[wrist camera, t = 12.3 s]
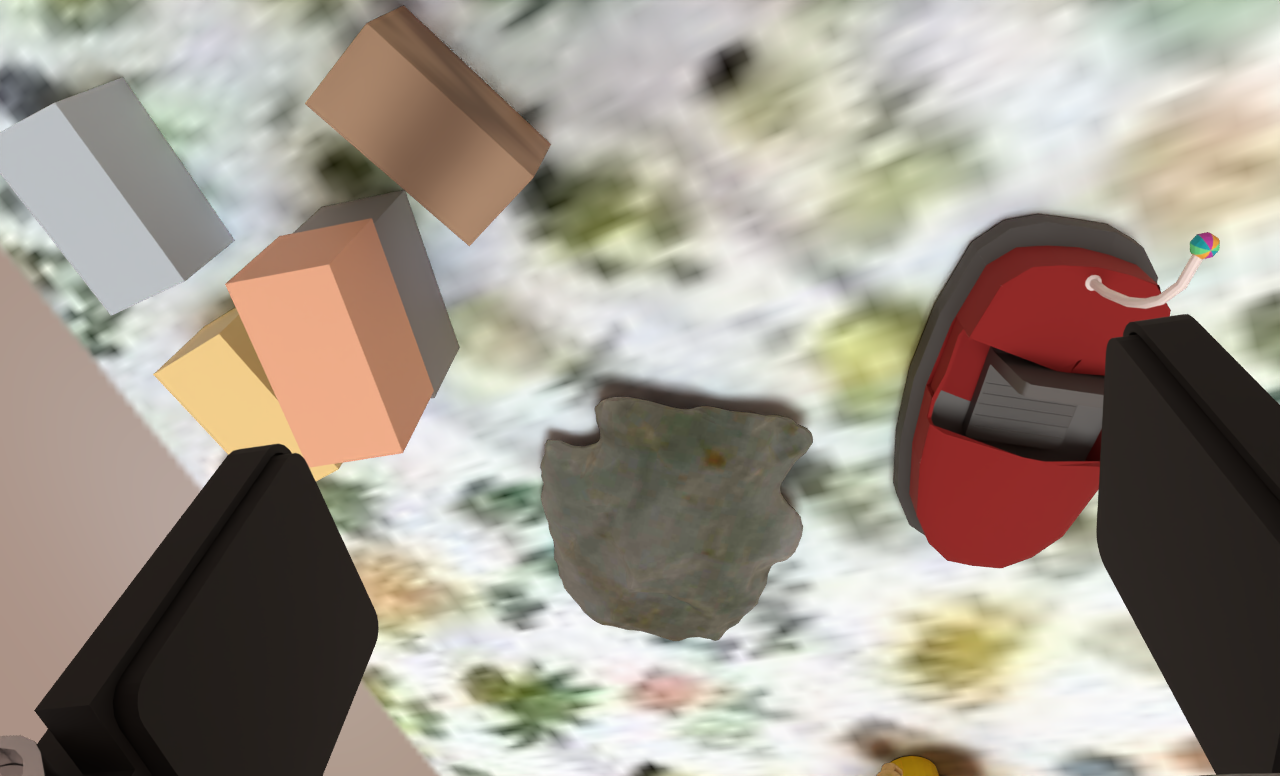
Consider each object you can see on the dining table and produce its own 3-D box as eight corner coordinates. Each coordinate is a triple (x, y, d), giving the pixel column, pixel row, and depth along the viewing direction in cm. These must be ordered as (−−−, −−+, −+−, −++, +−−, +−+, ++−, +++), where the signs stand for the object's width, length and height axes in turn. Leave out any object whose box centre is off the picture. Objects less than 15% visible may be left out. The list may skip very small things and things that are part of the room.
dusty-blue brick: (53, 114, 41) (-23, 144, 37) (124, 76, 40) (54, 102, 36) (168, 271, 45) (110, 315, 40) (236, 239, 44) (184, 281, 39)
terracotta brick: (279, 236, 38) (225, 284, 34) (371, 217, 37) (328, 264, 33) (348, 405, 42) (308, 467, 37) (433, 390, 41) (402, 452, 37)
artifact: (559, 355, 46) (529, 586, 54) (544, 394, 43) (514, 635, 50) (831, 405, 46) (764, 629, 53) (839, 448, 43) (766, 681, 50)
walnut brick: (347, 77, 40) (304, 103, 35) (404, 5, 38) (366, 23, 34) (492, 206, 42) (469, 246, 38) (551, 143, 41) (533, 177, 36)
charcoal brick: (322, 206, 43) (279, 245, 38) (404, 189, 42) (371, 226, 38) (382, 360, 46) (349, 412, 42) (459, 346, 46) (434, 397, 41)
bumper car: (860, 514, 50) (895, 654, 41) (977, 136, 40) (1056, 214, 31) (1044, 540, 50) (1119, 685, 41) (1206, 171, 40) (1349, 257, 31)
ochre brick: (204, 326, 46) (153, 374, 42) (265, 288, 45) (219, 333, 40) (311, 446, 49) (274, 503, 45) (370, 414, 48) (338, 469, 44)
